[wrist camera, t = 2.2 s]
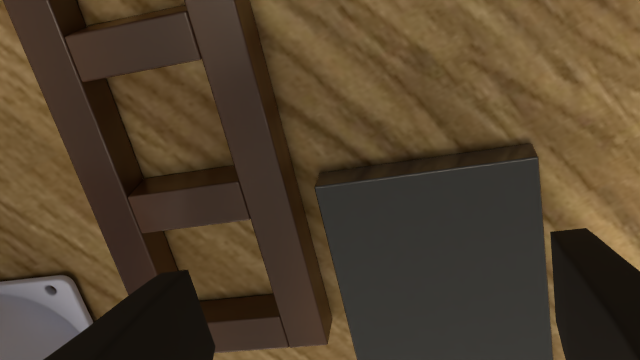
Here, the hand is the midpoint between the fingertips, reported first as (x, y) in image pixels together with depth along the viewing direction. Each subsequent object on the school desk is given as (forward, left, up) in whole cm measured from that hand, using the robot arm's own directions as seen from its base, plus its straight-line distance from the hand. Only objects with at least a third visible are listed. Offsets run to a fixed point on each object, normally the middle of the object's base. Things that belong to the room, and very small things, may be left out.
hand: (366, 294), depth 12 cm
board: (+1, -8, -10) cm, 13 cm away
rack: (-8, +1, -10) cm, 13 cm away
